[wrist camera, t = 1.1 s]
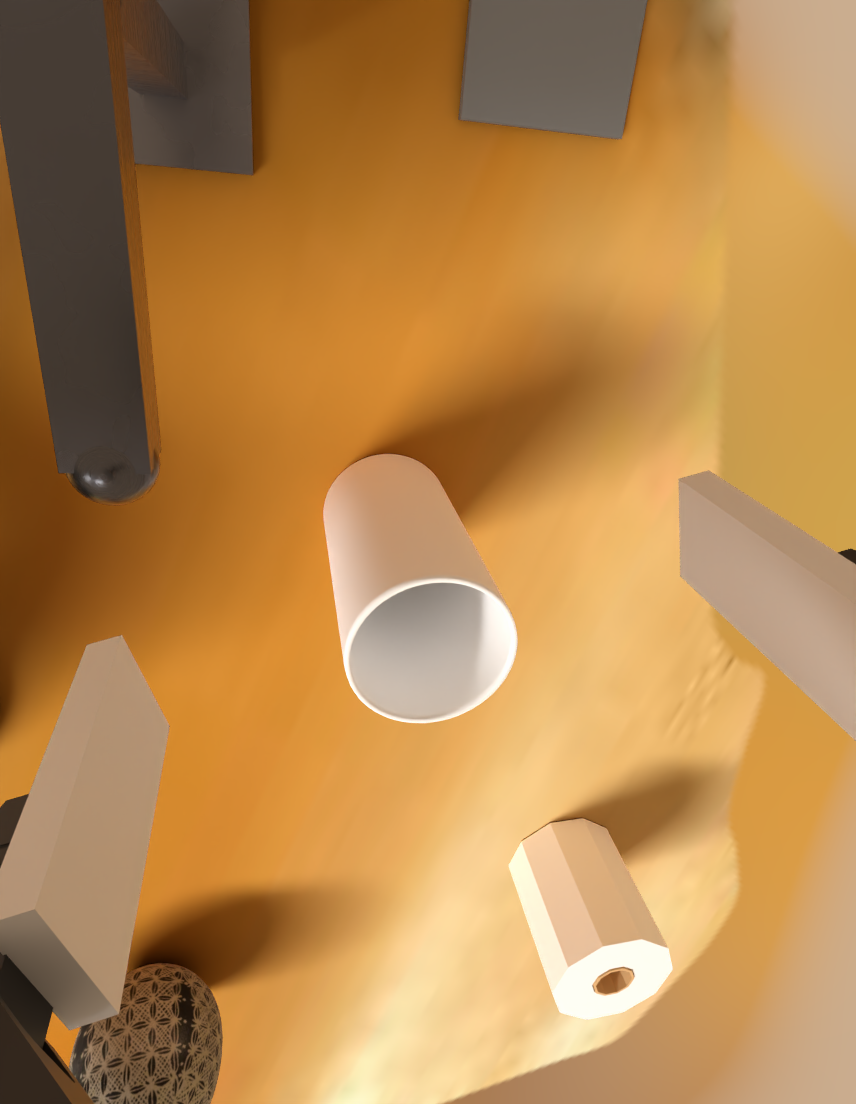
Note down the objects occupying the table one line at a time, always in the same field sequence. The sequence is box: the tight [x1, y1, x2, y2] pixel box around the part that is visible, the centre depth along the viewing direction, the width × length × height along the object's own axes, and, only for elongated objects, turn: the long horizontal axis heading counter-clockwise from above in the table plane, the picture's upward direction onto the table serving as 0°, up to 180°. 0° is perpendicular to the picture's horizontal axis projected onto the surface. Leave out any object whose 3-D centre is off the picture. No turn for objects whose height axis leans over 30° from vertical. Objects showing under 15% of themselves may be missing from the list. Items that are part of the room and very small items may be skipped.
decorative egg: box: [69, 963, 223, 1104], centre depth 57 cm, size 12×12×15 cm
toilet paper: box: [509, 818, 673, 1020], centre depth 61 cm, size 10×10×12 cm
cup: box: [323, 454, 517, 723], centre depth 39 cm, size 8×8×16 cm
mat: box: [459, 0, 647, 139], centre depth 35 cm, size 9×9×1 cm
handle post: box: [121, 0, 253, 175], centre depth 26 cm, size 8×8×17 cm
